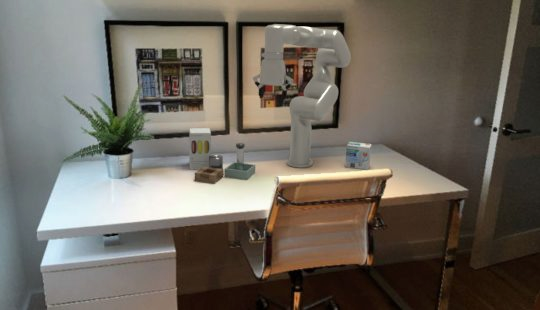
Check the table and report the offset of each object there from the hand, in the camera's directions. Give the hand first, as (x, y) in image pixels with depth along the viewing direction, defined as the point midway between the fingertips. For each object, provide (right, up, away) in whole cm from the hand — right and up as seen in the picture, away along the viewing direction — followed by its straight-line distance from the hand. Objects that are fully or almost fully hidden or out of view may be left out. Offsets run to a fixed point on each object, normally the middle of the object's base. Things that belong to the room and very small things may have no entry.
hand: (272, 98), depth 196 cm
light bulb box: (+40, -29, +25) cm, 55 cm away
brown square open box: (-27, -33, +2) cm, 43 cm away
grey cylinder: (-25, -31, +11) cm, 41 cm away
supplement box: (-33, -29, +18) cm, 47 cm away
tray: (-14, -32, +8) cm, 36 cm away
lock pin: (-14, -31, +8) cm, 35 cm away
